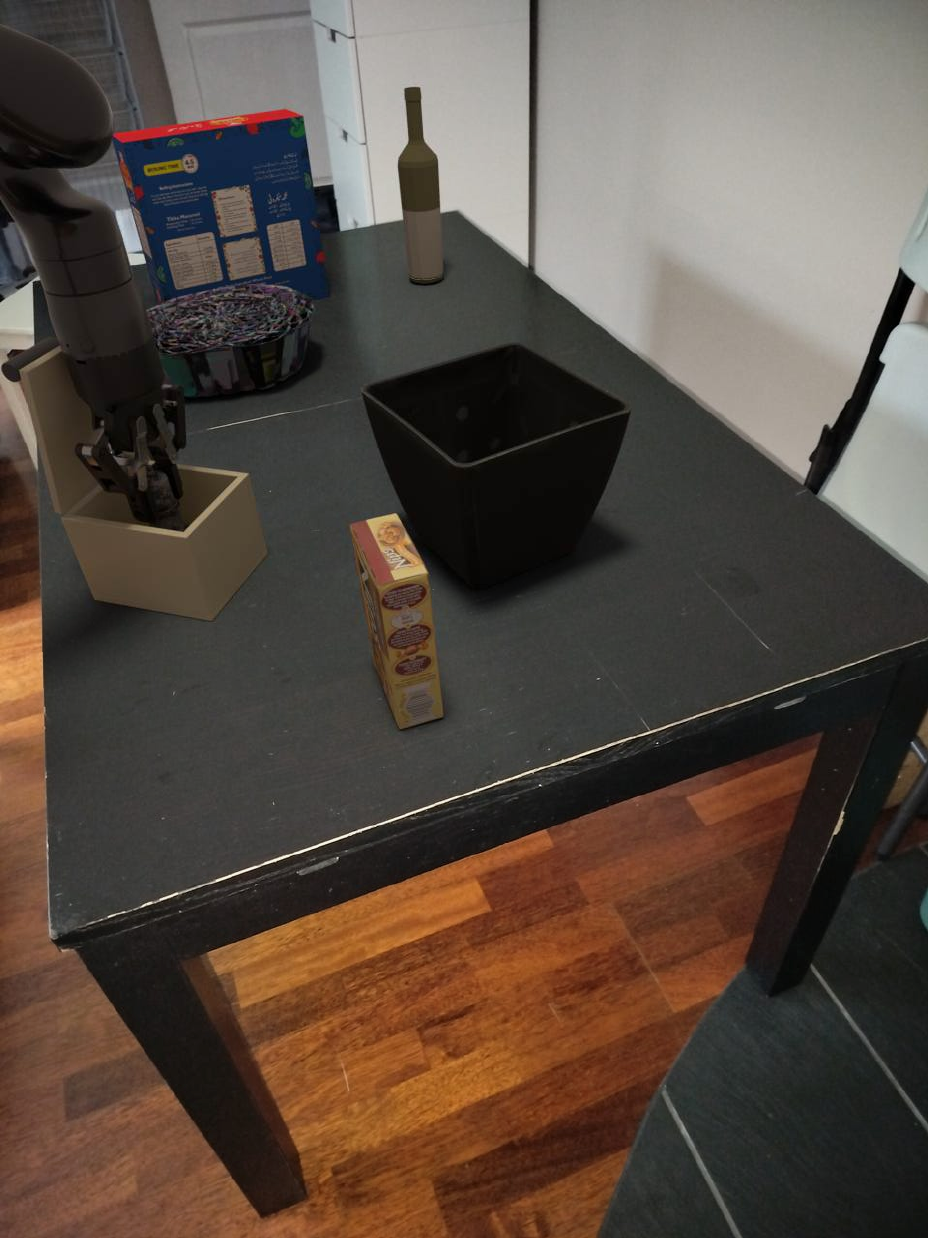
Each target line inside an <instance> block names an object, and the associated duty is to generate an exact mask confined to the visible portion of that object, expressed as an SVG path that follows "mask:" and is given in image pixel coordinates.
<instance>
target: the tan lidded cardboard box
mask: <svg viewBox="0 0 928 1238" xmlns="http://www.w3.org/2000/svg"><path fill="white" fill-rule="evenodd" d="M153 463H155V461H151V460H150V459H149V463H148V465H150V466H151V465H152V464H153ZM176 464H177V468H178V471H179V475H180V479H181V481H182V490H183V494H184V495H183V496H182V497H181V498H180V499H179V502H180V505H179V507H178V510H179V513H180V517H181V520H182V521H183V523H189V524H191V525H190V526H189V527H188V528H187V529H186V530H185V531H184V532H180V531H173V530H167V529H161V528H154V527H151V526H150V523H146V522H140V521H138V520H137V519H135V518H134V516H133V514H132V512H131V511H132V510H131V509H130V506H129V503H128V500H127V497H126V495H124V494H120V493H110V492H105V491H104V489H103V488H102V487H101V486H100V485H98V486H97V487H95V488H94V489H93V491H92V492H89V493H88V494H87V495H86V497H83V498H82V499H81V500H80V501H79V502H77V503H76V504H75V505H74V506H73V507H71V508H70V509H69V511H67V512H66V513H64V514H63V516H61V517H60V520H61V523H62V525H63V527H64V530H65V532H66V534H67V537H68V539H69V542H70V545H71V546H72V549H73V552H74V555H75V557H76V559H77V562H78V565H79V567H80V569H81V571H82V573H83V576H84V578H85V581H86V583H87V585H88V588H89V590H90V593H91V596H92V598H93V600H94V601H97V602H98V601H99V602H103V603H110V604H115V605H121V606H127V607H131V608H135V609H136V608H137V609H142V610H146V611H147V610H148V611H154V612H158V613H164V614H170V615H176V616H180V617H187V618H191V619H196V620H197V619H198V620H201V621H208V622H214V620H215V618H216V617H217V616H218V615H219V613H220V612H221V611H222V610H223V609H224V608H225V606H226V605H227V604H228V603H229V601H230V600H231V599H232V598H233V597H234V596H235V594H236V593H237V592H238V591H239V589H240V588H241V587H242V586H243V584H245V582H246V581H247V580H248V579H249V577H250V576H251V575H252V573H254V571H255V570H256V569H257V568H258V567H259V565H260V564H261V563H262V561H264V559H265V558H266V557H267V556H268V553H269V552H268V548H267V544H266V539H265V536H264V532H263V528H262V523H261V520H260V514H259V511H258V510H259V509H258V506H257V502H256V498H255V493H254V490H253V486H252V481H251V477H250V474H249V472H240V471H233V470H225V469H219V468H218V469H217V468H211V467H202V466H196V465H187V464H180V463H176ZM146 466H147V464H146ZM146 466H145V468H146ZM127 467H128V473H129V476H134V475H133V469H132V468H131V467H130V466H127ZM152 470H153V469H152ZM146 471H147V470H146Z"/></svg>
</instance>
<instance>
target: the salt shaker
mask: <svg viewBox="0 0 928 1238" xmlns="http://www.w3.org/2000/svg"><path fill="white" fill-rule="evenodd" d="M146 470H147V471H146V475H147V482H148V487H150V488H151V491H152V495H153V498H154V501H155V504H156V507H157V510H158V513H159V517H160V518H159V519H158V520H157V521H156V522H155V523H150V526H151V527H154V528H161V529H167V530H173V531H180V532H184V531H185V530H186V529H187V528H188V527H189V526H190V525H191V524H189V523H183V521H182V520H181V517H180V513H179V510H178V507H179V505H180V502H179V500H178V499H176V498H174V496H173V493H172V490H171V486H170V483H169V480H168V477H167V476H166V474H165V473H163V472H162V471H158V470H152V466H150V465H148V464H147V466H146Z"/></svg>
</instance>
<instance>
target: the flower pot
mask: <svg viewBox="0 0 928 1238" xmlns="http://www.w3.org/2000/svg"><path fill="white" fill-rule="evenodd" d="M360 391H361V395H362V399H363V400H362V401H363V402H364V403H363V404H364V408H365V411H366V414H367V418H368V421H369V424H370V428H371V431H372V434H373V437H374V440H375V442H376V446H377V449H378V452H379V454H380V457H381V460H382V462H383V465H384V468H385V470H386V472H387V475H388V477H389V480H390V483H391V485H392V487H393V489H394V491H395V494H396V495H397V498H398V500H399V502H400V504H401V506H402V509H403V511H404V513H405V514H406V517H407V519H408V521H409V523H410V525H411V526H412V528H413V530H414V532H415V534H416V535H417V536H418V538H419V539H421V540H422V541H423V542H424V543H425V544H426V546H428V547H429V548H430V549H431V550H432V551H433V552H434V553H435V554H436V555H437V556H438V557H439V558H441V560H443V561H444V562H445V564H447V565H448V566H449V568H451V569H452V570H453V571H454V572H455V573H456V575H458V576H459V577H460V578H461V579H462V580H463V581H464V582H465V583H466V584H468V585H469V587H471V588H473V589H485V588H487V587H489V586H492V585H494V584H497V583H499V582H501V581H504V580H506V579H509V578H511V577H514V576H516V575H519V574H521V573H524V572H526V571H529V570H531V569H534V568H535V567H537V566H540V565H543V564H545V563H548V562H550V561H552V560H555V559H558V558H559V557H561V556H564V555H567V554H569V553H571V552H573V551H574V550H575V549H576V547H577V545H578V544H579V542H580V540H581V538H582V537H583V535H584V534H585V532H586V530H587V527H588V525H589V524H590V522H591V520H592V518H593V516H594V514H595V512H596V510H597V508H598V506H599V504H600V502H601V499H602V497H603V495H604V493H605V490H606V489H607V486H608V483H609V482H610V478H611V475H612V473H613V471H614V468H615V465H616V462H617V460H618V457H619V454H620V451H621V447H622V444H623V441H624V438H625V434H626V431H627V428H628V424H629V421H630V417H631V414H632V409H633V407H632V404H630V403H629V402H628V401H626V400H624V399H622V398H620V397H619V396H617V395H616V394H614V393H612V392H610V391H608V390H606V389H604V388H603V387H601V386H599V385H598V384H596V383H594V382H593V381H590V380H589V379H587V378H585V377H584V376H581V375H580V374H578V373H576V372H575V371H573V370H571V369H569V368H567V367H566V366H564V365H562V364H560V363H559V362H557V361H555V360H553V359H552V358H550V357H548V356H547V355H545V354H544V353H541V352H539V351H538V350H536V349H534V348H532V347H530V346H529V345H527V344H525V343H523V342H520V341H519V342H518V341H512V342H507V343H504V344H499V345H497V346H496V345H495V346H493V347H489V348H486V349H482V350H479V351H475V352H472V353H469V354H465V355H462V356H459V357H456V358H455V357H454V358H452V359H449V360H445V361H442V362H439V363H435V364H431V365H427V366H424V367H421V368H417V369H414V370H410V371H407V372H403V373H400V374H397V375H394V376H390V377H387V378H383V379H380V380H377V381H373V382H369V383H366V384H364V385H363V386H362V387H361V388H360Z"/></svg>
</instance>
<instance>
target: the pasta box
mask: <svg viewBox="0 0 928 1238" xmlns="http://www.w3.org/2000/svg"><path fill="white" fill-rule="evenodd" d="M306 132H307V131H306V125H305V120H304V115H303V114H301V113H297V112H295V111H292V110H289V109H287V108H282V109H275V110H268V111H267V110H266V111H262V112H261V111H260V112H255V113H248V114H247V113H246V114H241V115H233V116H226V117H219V118H213V119H212V118H211V119H205V120H198V121H192V122H184V123H178V124H171V125H170V124H169V125H164V126H158V127H150V128H143V129H137V130H130V131H123V132H116V133H115V132H114V134H113V140H112V144H113V147H114V152H115V156H116V159H117V162H118V167H119V169H120V174H121V177H122V180H123V184H124V188H125V192H126V195H127V199H128V203H129V207H130V210H131V213H132V217H133V221H134V225H135V228H136V231H137V236H138V239H139V243H140V246H141V250H142V254H143V258H144V261H145V265H146V269H147V272H148V275H149V279H150V283H151V286H152V290H153V294H154V298H155V301H156V305H158V304H161V303H164V302H167V301H169V300H171V299H174V298H177V297H181V296H185V295H189V294H193V293H198V292H204V291H209V290H212V289H217V288H226V287H235V286H240V285H247V284H264V285H276V286H284V287H289V288H291V289H293V290H295V291H299V292H301V293H302V294H304V295H306V296H308V297H310V298H313V299H314V300H317V299H318V300H319V299H323V298H326V297H330V291H329V290H330V289H329V283H328V276H327V270H326V262H325V255H324V249H323V241H322V235H321V229H320V221H319V215H318V208H317V201H316V194H315V187H314V179H313V172H312V167H311V159H310V153H309V146H308V145H309V144H308V140H307V133H306ZM326 290H328V291H326ZM323 291H324V292H323ZM314 293H315V294H314Z"/></svg>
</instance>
